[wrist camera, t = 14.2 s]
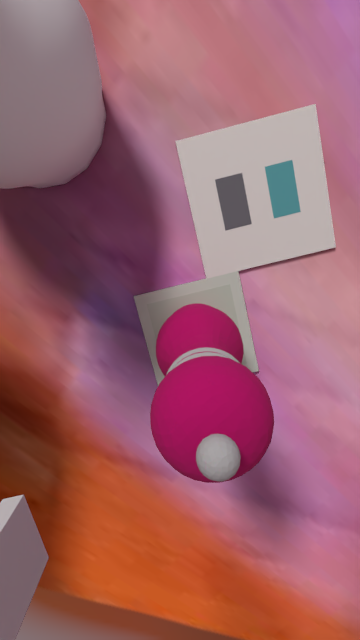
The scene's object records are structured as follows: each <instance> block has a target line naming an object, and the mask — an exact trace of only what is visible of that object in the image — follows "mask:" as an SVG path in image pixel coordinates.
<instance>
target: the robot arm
mask: <svg viewBox="0 0 360 640" xmlns="http://www.w3.org/2000/svg"><path fill="white" fill-rule="evenodd" d="M48 558H49V557H48V554H47V552H46V549H45V547H44V544H43V542H42V539H41V537H40V534H39V532H38V529H37V527H36V524H35V522H34V519H33V517H32V514H31V512H30V509H29V506H28V504H27V501H26V499H25V496H24V495H19V496H15V497H10V498H6V499H3V500H2V501H1V503H0V640H15V639H16V636H17V634H18V631H19V629H20V626H21V624H22V622H23V619H24V617H25V614H26V612H27V610H28V607H29V604H30V602H31V600H32V597H33V595H34V593H35V590H36V588H37V585H38V583H39V580H40V578H41V575H42V573H43V571H44V568H45V566H46V563H47V561H48Z"/></svg>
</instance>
